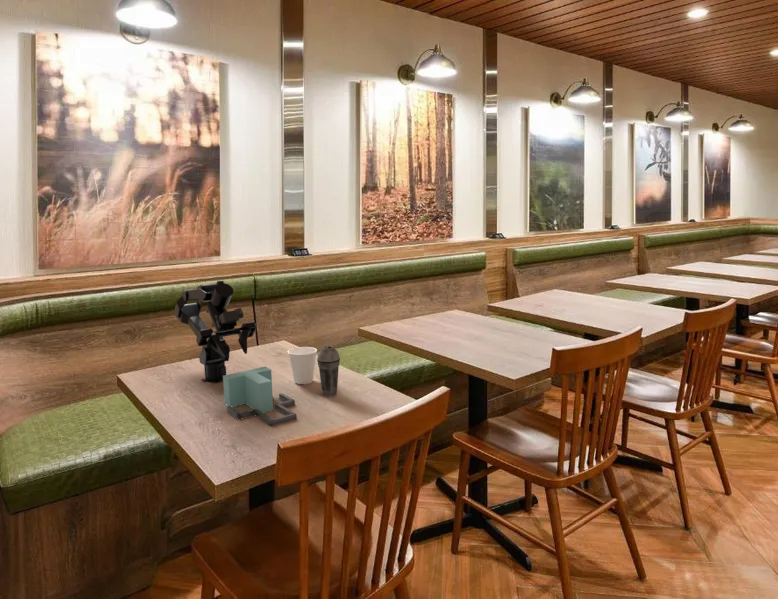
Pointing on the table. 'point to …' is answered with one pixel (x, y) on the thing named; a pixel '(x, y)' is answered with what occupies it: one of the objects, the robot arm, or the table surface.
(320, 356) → the beverage cup
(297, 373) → the cup
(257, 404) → the t block
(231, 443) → the table surface
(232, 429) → the table surface
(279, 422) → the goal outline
